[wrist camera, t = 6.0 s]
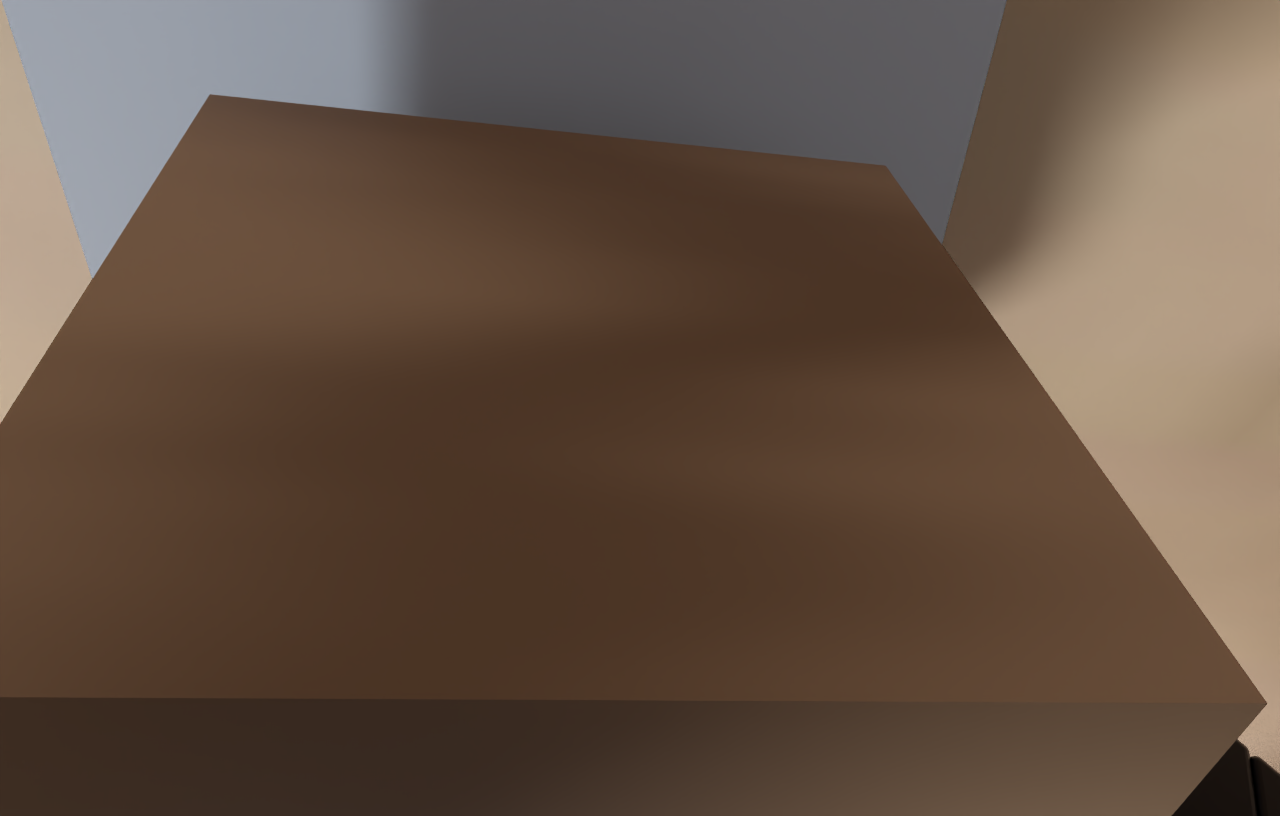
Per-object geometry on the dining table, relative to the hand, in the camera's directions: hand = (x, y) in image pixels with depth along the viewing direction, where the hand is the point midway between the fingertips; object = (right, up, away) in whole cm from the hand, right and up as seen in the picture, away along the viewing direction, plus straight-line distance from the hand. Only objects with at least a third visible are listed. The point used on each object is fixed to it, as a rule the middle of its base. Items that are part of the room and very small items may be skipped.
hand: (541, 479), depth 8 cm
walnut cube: (0, +1, +1) cm, 1 cm away
